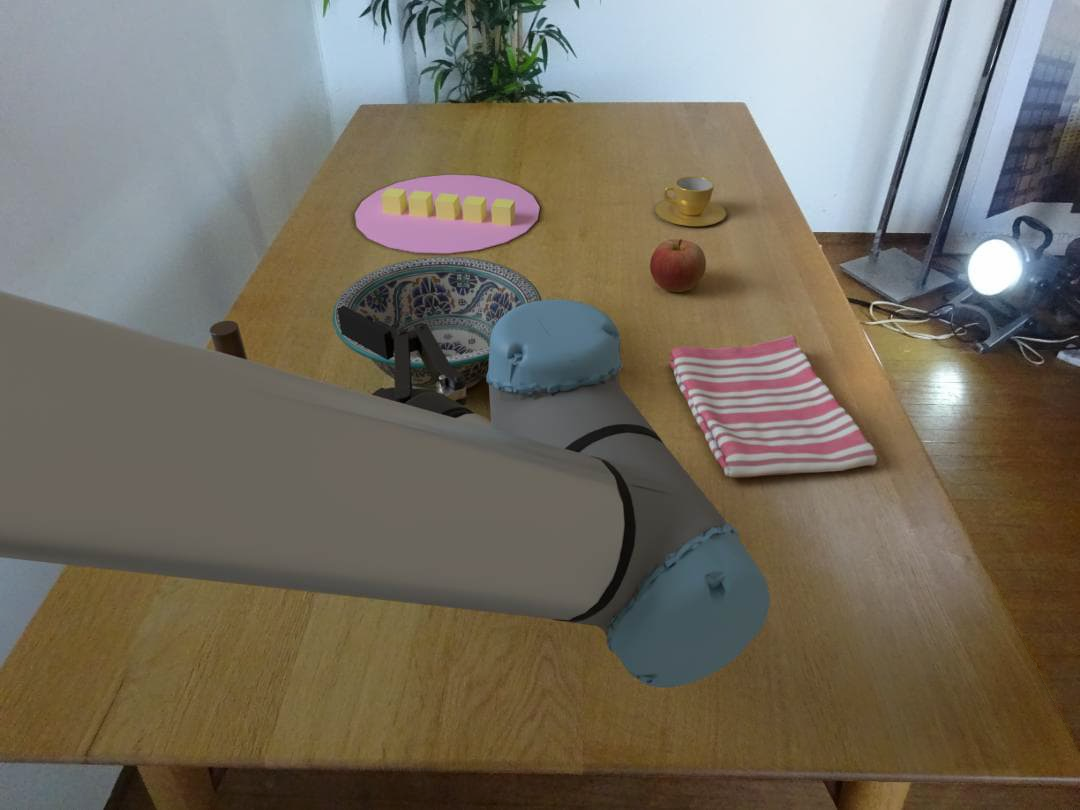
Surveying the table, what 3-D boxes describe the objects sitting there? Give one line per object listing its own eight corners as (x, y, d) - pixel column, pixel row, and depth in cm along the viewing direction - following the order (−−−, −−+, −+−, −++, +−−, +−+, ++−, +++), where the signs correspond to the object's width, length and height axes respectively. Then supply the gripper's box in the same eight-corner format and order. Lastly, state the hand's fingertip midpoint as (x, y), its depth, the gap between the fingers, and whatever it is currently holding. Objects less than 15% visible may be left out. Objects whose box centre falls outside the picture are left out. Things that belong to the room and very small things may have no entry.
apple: (696, 305, 115) (703, 254, 110) (642, 295, 117) (646, 245, 112) (707, 279, 121) (714, 230, 116) (655, 270, 123) (660, 222, 118)
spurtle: (243, 485, 85) (200, 346, 74) (236, 457, 88) (194, 320, 77) (289, 472, 86) (253, 334, 76) (281, 445, 90) (246, 310, 79)
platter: (513, 263, 125) (513, 244, 123) (322, 242, 131) (319, 223, 129) (557, 183, 150) (557, 166, 148) (395, 168, 155) (393, 151, 153)
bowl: (381, 457, 89) (370, 388, 83) (320, 346, 107) (308, 282, 101) (578, 395, 98) (580, 328, 93) (492, 301, 116) (489, 241, 110)
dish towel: (790, 352, 106) (795, 329, 103) (877, 471, 87) (885, 446, 85) (664, 364, 103) (667, 341, 101) (726, 489, 85) (731, 464, 83)
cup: (723, 200, 144) (727, 171, 140) (727, 230, 134) (732, 199, 131) (655, 197, 145) (658, 168, 141) (655, 226, 135) (658, 196, 132)
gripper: (319, 591, 54) (158, 453, 65) (557, 417, 69) (393, 329, 80) (300, 511, 50) (129, 378, 61) (559, 344, 65) (385, 261, 76)
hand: (279, 350), depth 70 cm, fingers open, 13 cm apart
